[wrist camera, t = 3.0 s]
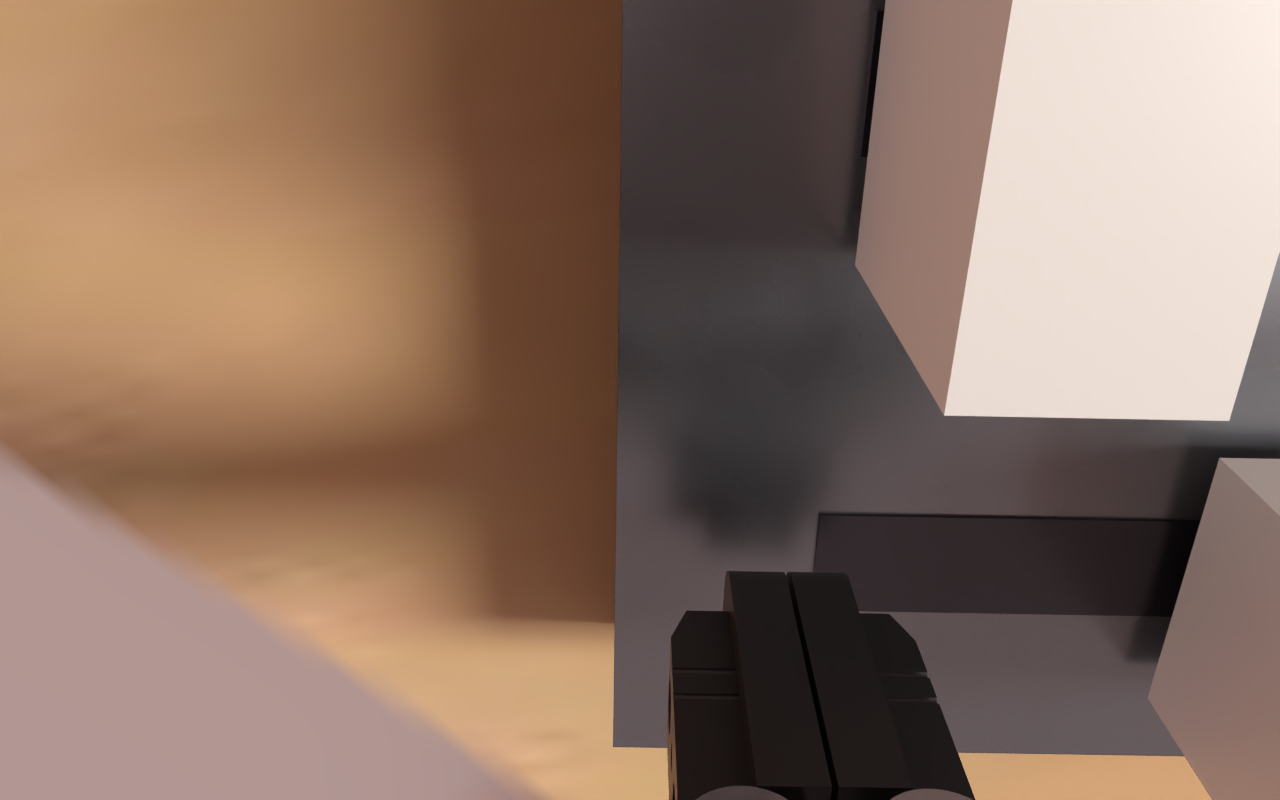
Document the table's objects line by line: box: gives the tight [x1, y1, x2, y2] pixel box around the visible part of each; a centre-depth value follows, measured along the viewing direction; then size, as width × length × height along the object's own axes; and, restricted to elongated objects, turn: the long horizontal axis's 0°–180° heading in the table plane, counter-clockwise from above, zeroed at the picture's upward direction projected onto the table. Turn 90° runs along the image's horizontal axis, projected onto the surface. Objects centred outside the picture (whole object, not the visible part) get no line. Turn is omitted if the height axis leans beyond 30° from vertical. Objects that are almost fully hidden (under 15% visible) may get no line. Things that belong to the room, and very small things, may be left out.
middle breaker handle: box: [855, 0, 1280, 421], centre depth 10 cm, size 2×4×4 cm, turn 179°
